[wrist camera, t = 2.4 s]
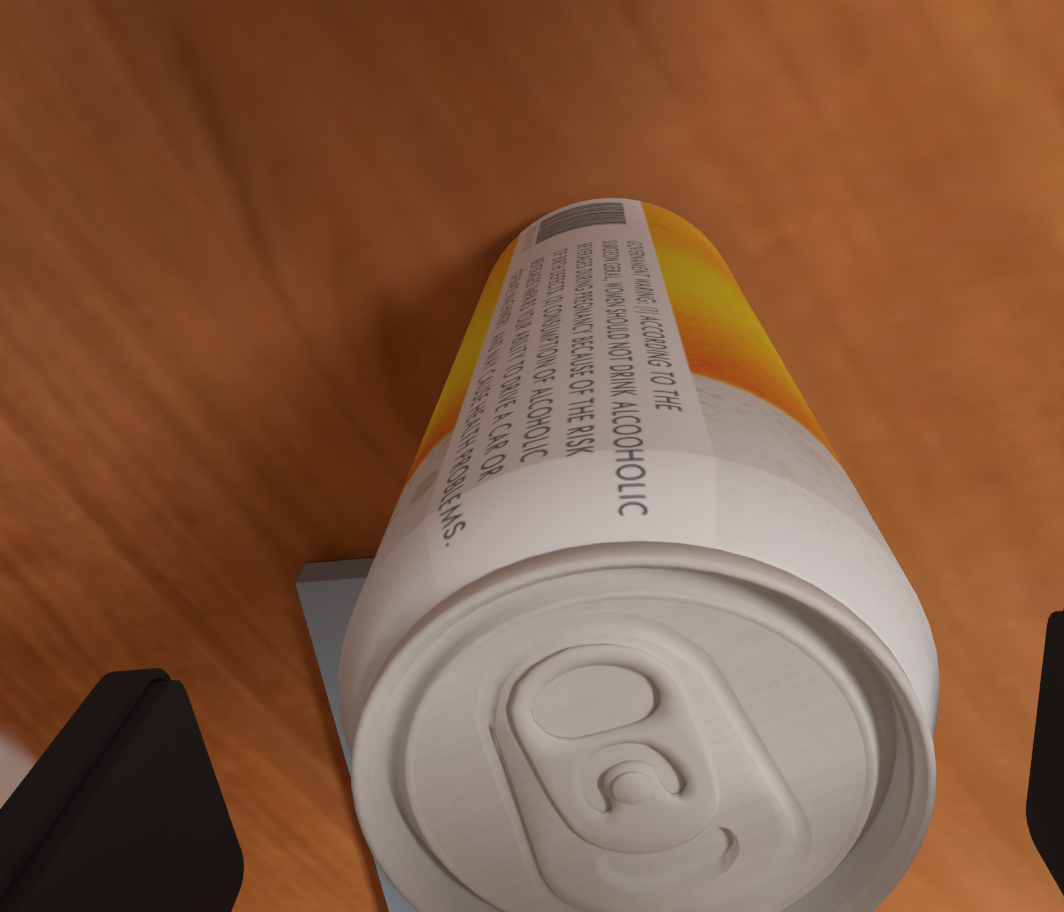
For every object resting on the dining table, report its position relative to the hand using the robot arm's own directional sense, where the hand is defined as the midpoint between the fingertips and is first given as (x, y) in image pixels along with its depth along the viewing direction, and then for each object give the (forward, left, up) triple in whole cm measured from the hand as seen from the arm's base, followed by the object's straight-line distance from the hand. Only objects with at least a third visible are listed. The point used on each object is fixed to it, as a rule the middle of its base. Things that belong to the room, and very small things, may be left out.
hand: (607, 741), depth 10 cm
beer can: (-1, 0, -14) cm, 14 cm away
